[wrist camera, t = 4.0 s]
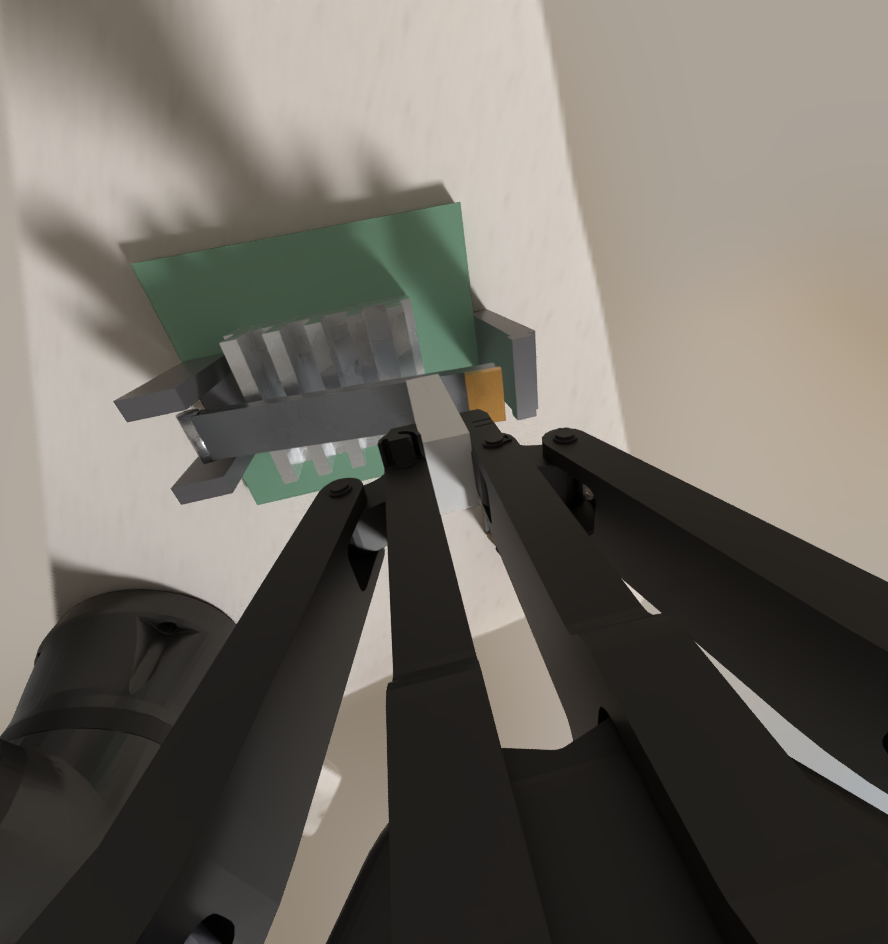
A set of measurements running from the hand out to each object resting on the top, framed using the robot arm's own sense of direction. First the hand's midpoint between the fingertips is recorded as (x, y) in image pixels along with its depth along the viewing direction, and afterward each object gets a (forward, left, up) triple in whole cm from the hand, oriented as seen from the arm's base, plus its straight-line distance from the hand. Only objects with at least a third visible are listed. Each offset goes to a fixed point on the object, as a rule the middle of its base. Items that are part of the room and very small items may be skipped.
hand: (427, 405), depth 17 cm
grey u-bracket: (-12, 0, -9) cm, 15 cm away
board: (-4, 0, -10) cm, 11 cm away
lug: (+5, 0, -10) cm, 11 cm away
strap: (-4, 0, -2) cm, 4 cm away
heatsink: (-4, 0, -9) cm, 10 cm away
